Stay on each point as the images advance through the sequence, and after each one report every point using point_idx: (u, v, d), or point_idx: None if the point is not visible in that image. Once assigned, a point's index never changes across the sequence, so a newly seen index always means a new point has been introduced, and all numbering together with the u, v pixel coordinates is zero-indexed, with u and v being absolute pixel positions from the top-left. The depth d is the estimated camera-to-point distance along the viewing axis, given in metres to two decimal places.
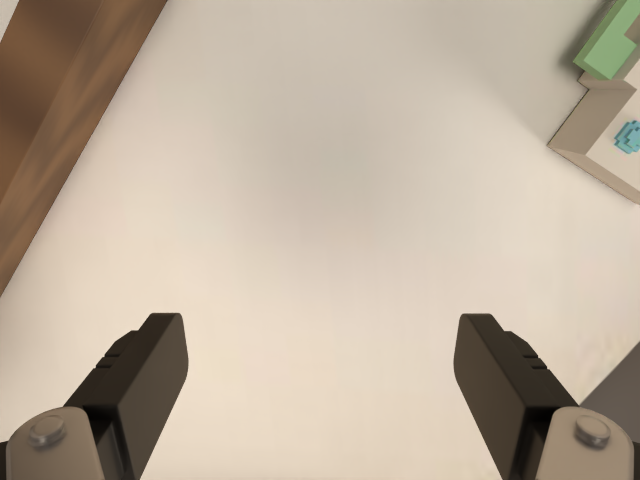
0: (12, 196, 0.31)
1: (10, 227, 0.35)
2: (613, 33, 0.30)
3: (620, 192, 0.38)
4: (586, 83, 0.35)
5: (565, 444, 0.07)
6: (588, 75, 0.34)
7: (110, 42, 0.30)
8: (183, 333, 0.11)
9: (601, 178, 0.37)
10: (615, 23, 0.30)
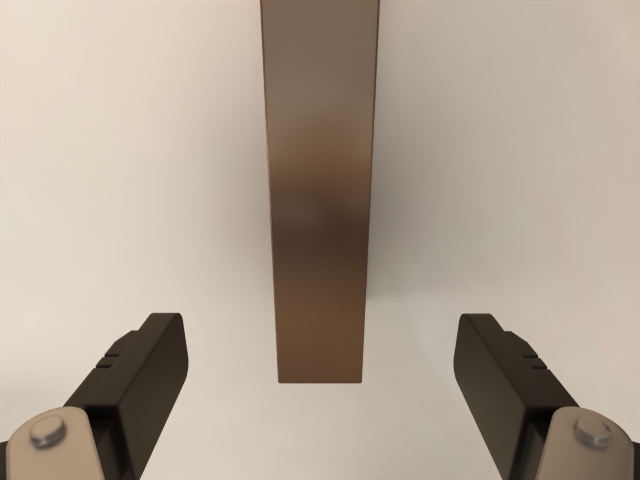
0: None
1: None
2: None
3: None
4: None
5: (565, 444, 0.07)
6: None
7: None
8: (183, 333, 0.11)
9: None
10: None
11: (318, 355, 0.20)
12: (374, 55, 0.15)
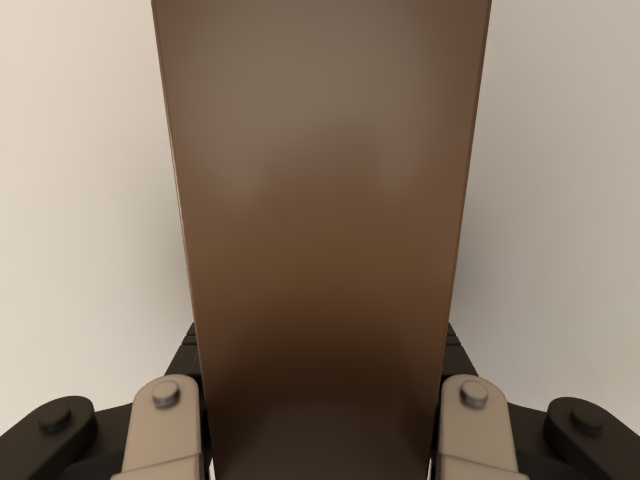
0: None
1: None
2: None
3: None
4: None
5: (456, 412, 0.07)
6: None
7: None
8: None
9: None
10: None
11: None
12: None
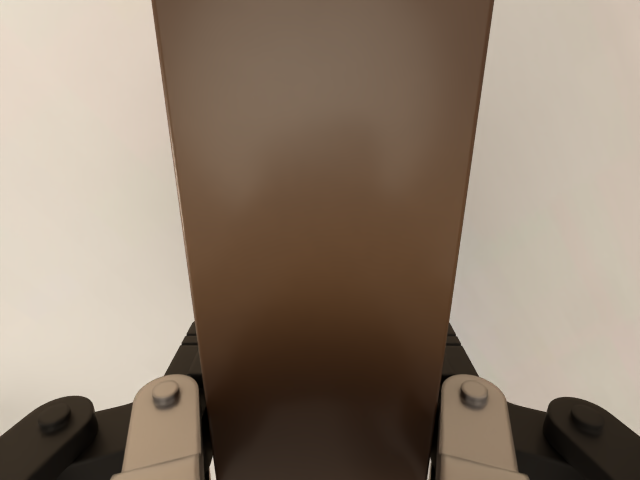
0: None
1: None
2: None
3: None
4: None
5: (456, 412, 0.07)
6: None
7: None
8: None
9: None
10: None
11: None
12: None
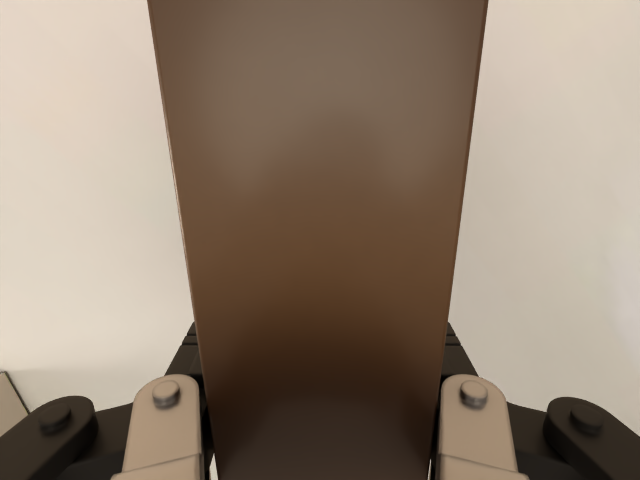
0: None
1: None
2: None
3: None
4: None
5: (455, 412, 0.07)
6: None
7: None
8: None
9: None
10: None
11: None
12: None
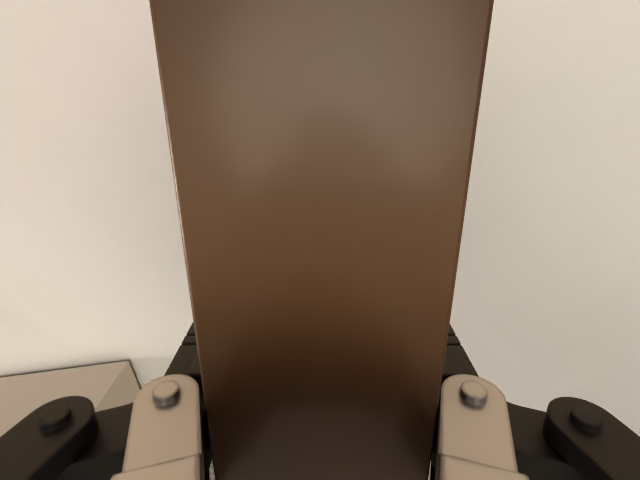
0: None
1: None
2: None
3: None
4: None
5: (455, 411, 0.07)
6: None
7: None
8: None
9: (34, 384, 0.26)
10: None
11: None
12: None
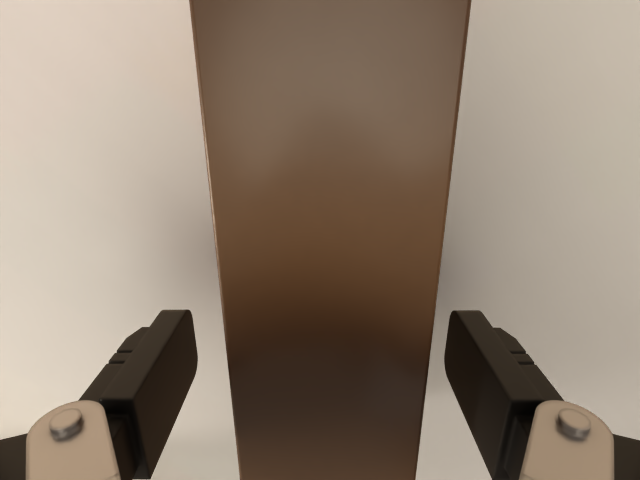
0: None
1: None
2: None
3: None
4: None
5: (548, 438, 0.07)
6: None
7: None
8: (193, 330, 0.11)
9: None
10: None
11: None
12: (465, 6, 0.06)
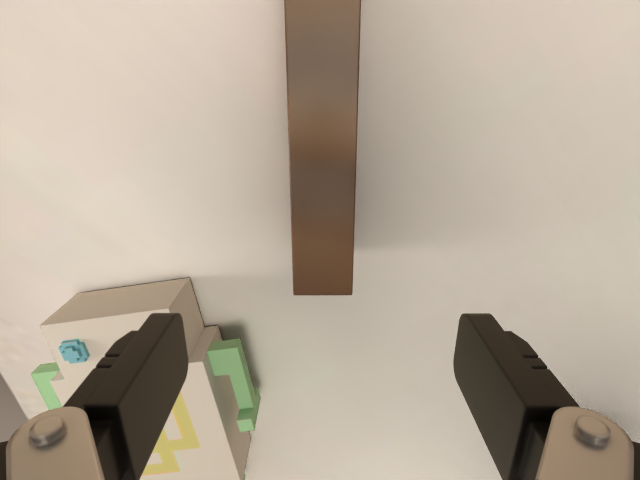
0: None
1: None
2: (236, 370, 0.37)
3: (99, 292, 0.38)
4: (212, 330, 0.40)
5: (565, 444, 0.07)
6: (217, 335, 0.40)
7: None
8: (183, 333, 0.11)
9: (126, 291, 0.38)
10: (241, 375, 0.37)
11: (321, 273, 0.29)
12: (357, 66, 0.24)
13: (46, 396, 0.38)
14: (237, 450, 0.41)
